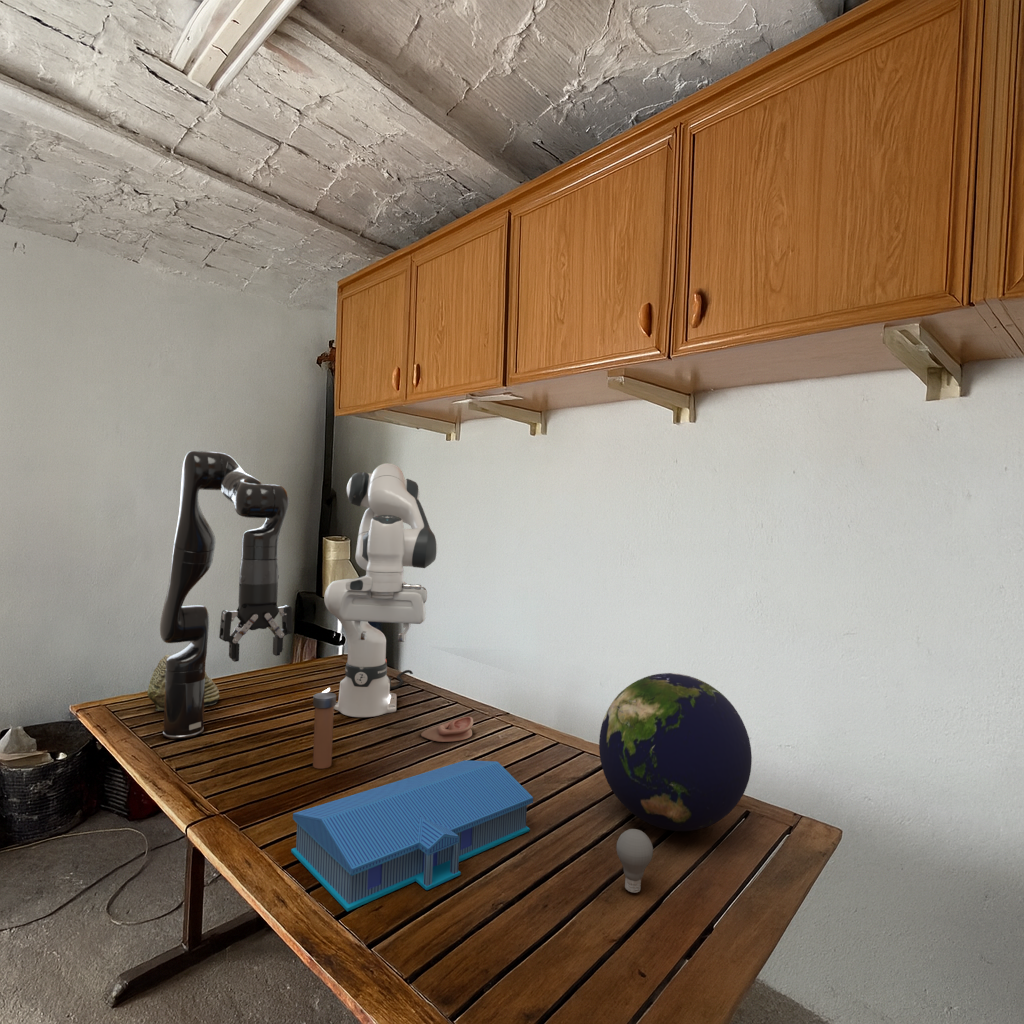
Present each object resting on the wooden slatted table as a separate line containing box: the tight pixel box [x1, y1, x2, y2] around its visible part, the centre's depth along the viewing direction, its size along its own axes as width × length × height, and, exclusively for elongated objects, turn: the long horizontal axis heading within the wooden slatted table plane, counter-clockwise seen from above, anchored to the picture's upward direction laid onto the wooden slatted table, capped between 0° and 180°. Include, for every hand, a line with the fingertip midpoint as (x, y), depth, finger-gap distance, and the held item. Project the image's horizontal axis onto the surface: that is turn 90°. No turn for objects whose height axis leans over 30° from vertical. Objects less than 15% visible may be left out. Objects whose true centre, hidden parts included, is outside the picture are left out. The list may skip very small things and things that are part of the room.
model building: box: [290, 759, 534, 912], centre depth 117 cm, size 39×24×10 cm, turn 132°
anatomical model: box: [420, 715, 474, 743], centre depth 171 cm, size 13×4×12 cm
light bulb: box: [615, 828, 654, 894], centre depth 106 cm, size 6×6×10 cm
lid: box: [312, 691, 337, 708], centre depth 149 cm, size 5×5×2 cm
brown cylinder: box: [312, 707, 335, 770], centre depth 149 cm, size 4×4×16 cm
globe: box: [598, 672, 753, 832], centre depth 129 cm, size 30×30×30 cm
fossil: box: [147, 654, 221, 712], centre depth 185 cm, size 9×18×15 cm, turn 132°
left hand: (256, 657), depth 132 cm, fingers open, 8 cm apart
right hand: (382, 640), depth 152 cm, fingers open, 8 cm apart
